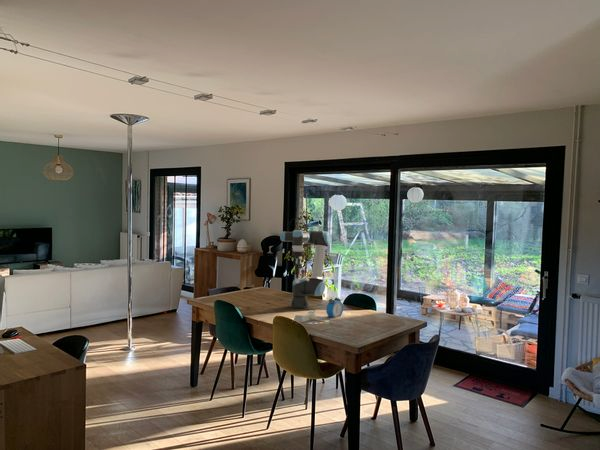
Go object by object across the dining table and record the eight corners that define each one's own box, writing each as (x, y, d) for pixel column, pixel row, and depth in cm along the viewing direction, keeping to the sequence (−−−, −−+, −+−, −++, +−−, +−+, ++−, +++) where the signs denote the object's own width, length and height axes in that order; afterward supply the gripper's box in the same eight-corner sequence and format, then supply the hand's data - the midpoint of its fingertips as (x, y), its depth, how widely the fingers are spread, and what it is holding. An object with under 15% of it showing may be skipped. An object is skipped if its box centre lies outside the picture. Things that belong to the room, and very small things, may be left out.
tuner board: (295, 317, 347) (295, 315, 347) (330, 318, 344) (330, 316, 344) (291, 325, 323) (291, 323, 323) (329, 327, 320) (329, 324, 320)
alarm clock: (332, 320, 340) (332, 299, 339) (325, 318, 344) (325, 298, 344) (343, 317, 349) (343, 297, 349) (336, 315, 354) (337, 296, 353)
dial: (299, 321, 329) (299, 312, 328) (311, 318, 339) (311, 309, 338) (317, 325, 319) (317, 316, 318) (328, 321, 329) (328, 313, 328)
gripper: (293, 250, 350) (293, 281, 351) (291, 251, 338) (291, 283, 338) (303, 250, 350) (303, 281, 351) (301, 252, 337) (301, 284, 338)
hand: (297, 282), depth 345 cm, fingers closed
